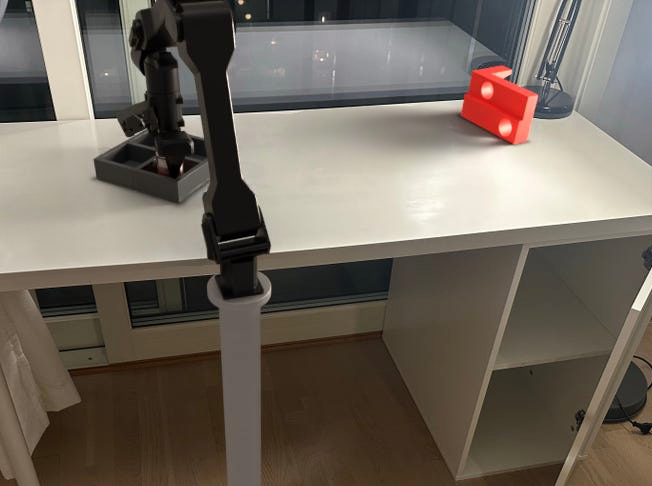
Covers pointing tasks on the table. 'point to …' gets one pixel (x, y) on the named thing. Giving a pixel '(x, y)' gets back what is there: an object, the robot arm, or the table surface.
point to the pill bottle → (165, 167)
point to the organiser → (152, 168)
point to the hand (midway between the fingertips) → (171, 172)
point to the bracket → (499, 104)
